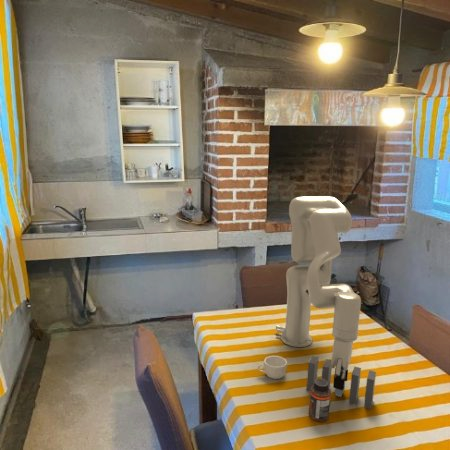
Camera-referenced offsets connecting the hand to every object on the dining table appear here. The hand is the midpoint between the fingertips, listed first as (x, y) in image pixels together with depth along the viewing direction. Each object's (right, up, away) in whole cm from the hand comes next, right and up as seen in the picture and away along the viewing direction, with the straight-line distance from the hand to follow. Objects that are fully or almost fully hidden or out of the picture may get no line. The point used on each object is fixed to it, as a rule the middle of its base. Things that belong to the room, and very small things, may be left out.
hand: (340, 383), depth 129 cm
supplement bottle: (-9, -6, -9) cm, 14 cm away
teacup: (-21, -2, +11) cm, 23 cm away
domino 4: (+4, -5, -1) cm, 6 cm away
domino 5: (+8, -5, -3) cm, 10 cm away
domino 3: (0, -3, +1) cm, 3 cm away
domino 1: (-8, -3, +5) cm, 10 cm away
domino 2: (-4, -4, +3) cm, 6 cm away
